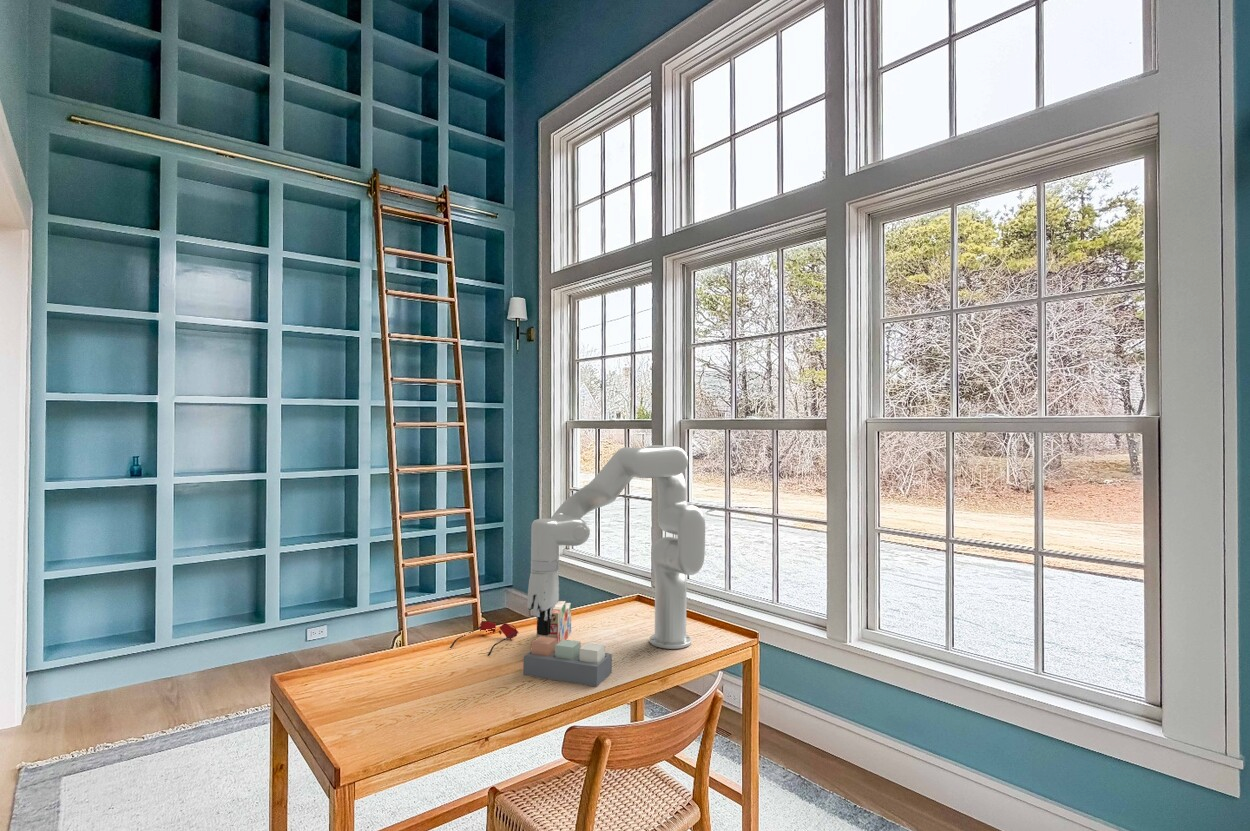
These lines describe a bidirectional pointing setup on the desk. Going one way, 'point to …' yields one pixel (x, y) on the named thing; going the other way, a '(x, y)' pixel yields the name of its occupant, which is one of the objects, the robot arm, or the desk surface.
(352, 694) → the desk surface
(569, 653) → the sage button
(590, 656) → the cream button
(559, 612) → the stack of blocks
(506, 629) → the glasses
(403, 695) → the desk surface
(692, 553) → the robot arm
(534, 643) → the terracotta button
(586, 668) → the frame
